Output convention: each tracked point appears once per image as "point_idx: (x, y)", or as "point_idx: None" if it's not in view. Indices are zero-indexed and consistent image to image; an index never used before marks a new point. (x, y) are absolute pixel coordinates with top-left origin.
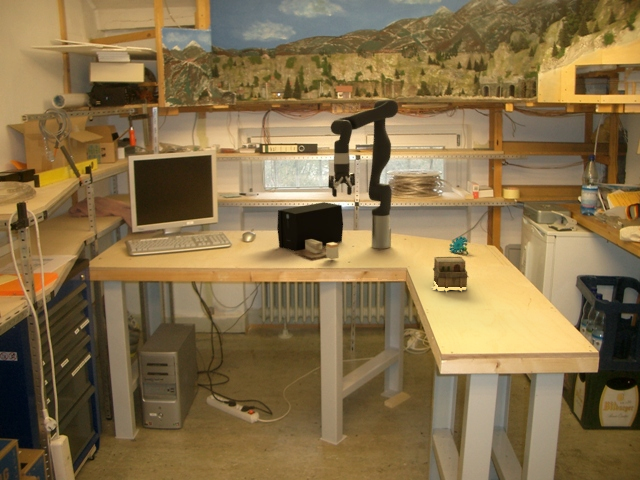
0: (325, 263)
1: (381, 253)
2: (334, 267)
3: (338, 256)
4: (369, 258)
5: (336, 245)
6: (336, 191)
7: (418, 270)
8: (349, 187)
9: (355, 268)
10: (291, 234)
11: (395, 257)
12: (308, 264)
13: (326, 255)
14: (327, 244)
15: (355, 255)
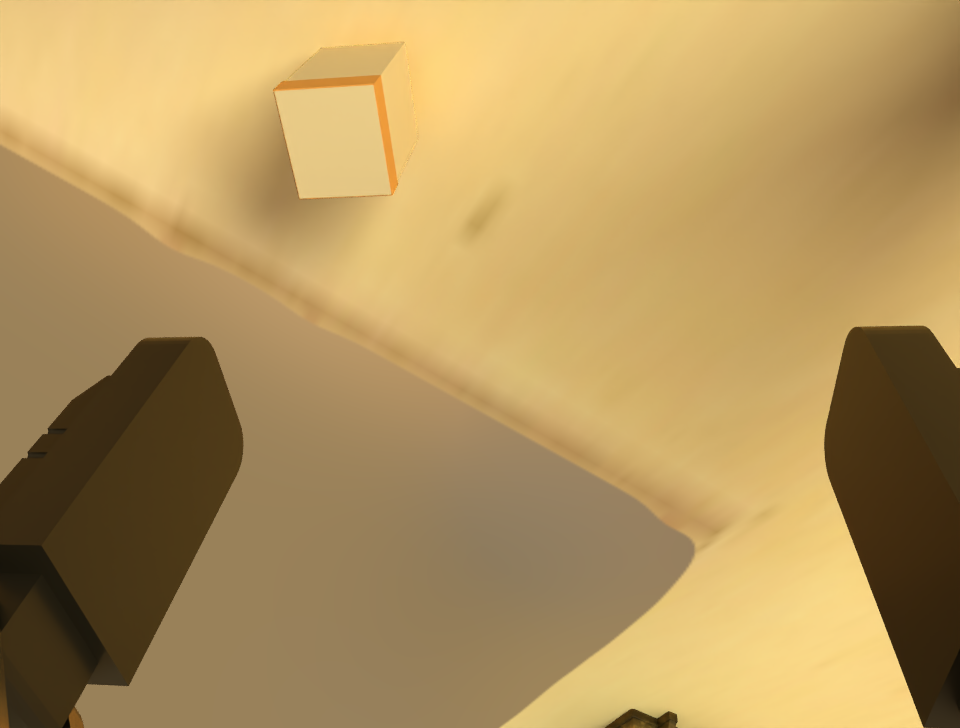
0: (277, 139)
1: (936, 146)
2: (302, 275)
3: (414, 143)
4: (703, 224)
5: (366, 192)
6: (158, 605)
7: (739, 586)
8: (937, 706)
9: (431, 373)
10: None
11: (901, 321)
12: (122, 79)
13: (316, 54)
14: (282, 117)
15: (673, 57)
